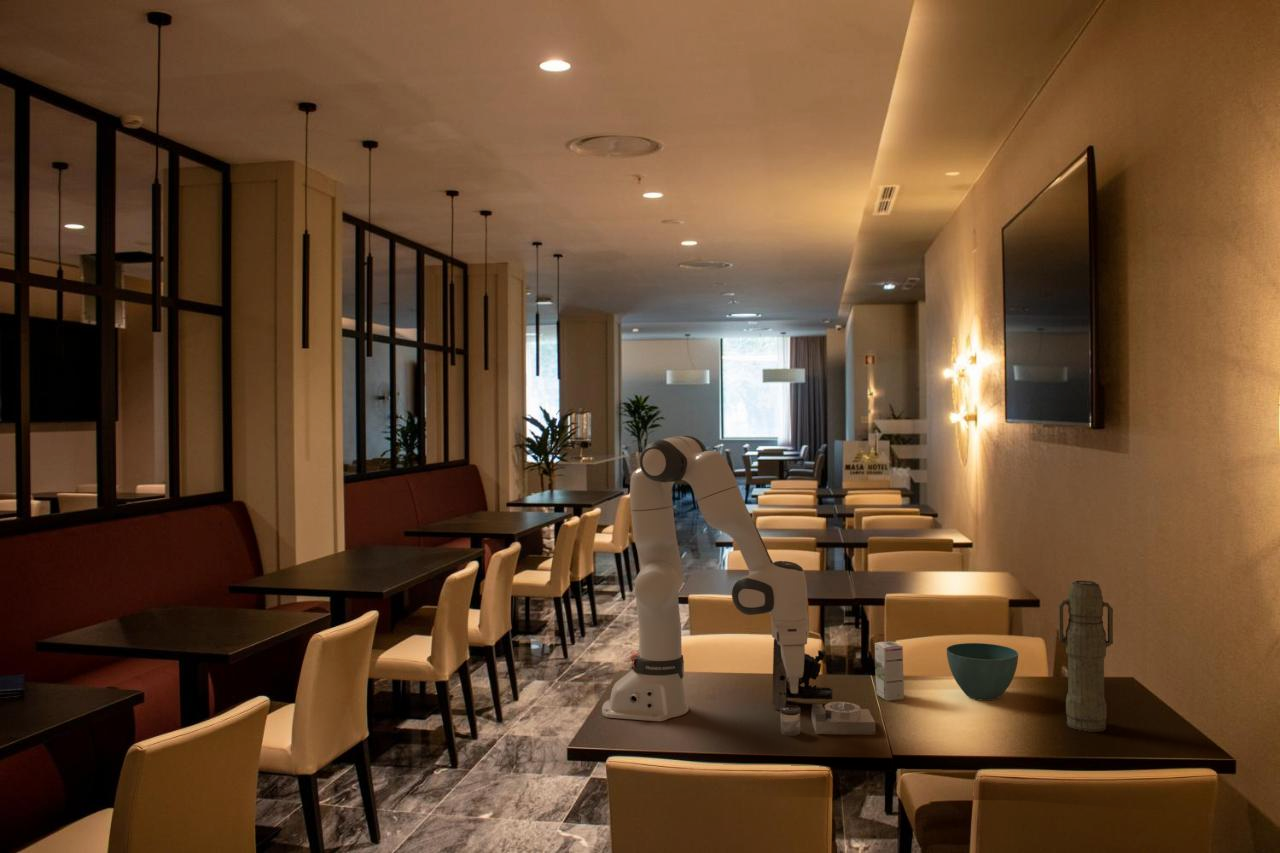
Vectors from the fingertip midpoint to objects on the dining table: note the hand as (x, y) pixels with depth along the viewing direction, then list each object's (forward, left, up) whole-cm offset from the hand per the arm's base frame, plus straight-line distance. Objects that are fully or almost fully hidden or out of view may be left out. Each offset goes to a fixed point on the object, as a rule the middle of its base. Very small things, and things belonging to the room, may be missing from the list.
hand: (792, 686), depth 227 cm
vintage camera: (+4, +21, -11) cm, 25 cm away
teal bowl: (+53, +31, -11) cm, 63 cm away
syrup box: (+28, +29, -11) cm, 42 cm away
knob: (-1, 0, -11) cm, 11 cm away
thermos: (+71, +7, -11) cm, 73 cm away
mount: (+12, +4, -11) cm, 17 cm away
